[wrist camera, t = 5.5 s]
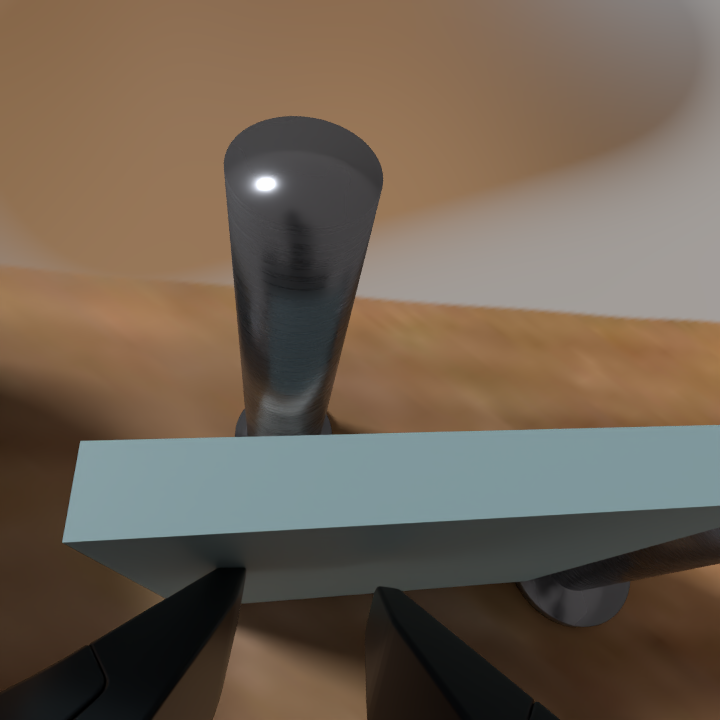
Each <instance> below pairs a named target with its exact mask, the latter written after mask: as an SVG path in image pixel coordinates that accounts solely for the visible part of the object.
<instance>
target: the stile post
mask: <svg viewBox="0 0 720 720" xmlns="http://www.w3.org/2000/svg"><path fill="white" fill-rule="evenodd" d="M224 174H225V186H226V197H227V207H228V219H229V231H230V241H231V253H232V265H233V276H234V288H235V299H236V311H237V322H238V333H239V345H240V356H241V368H242V379H243V390H244V402H245V409H244V410H243V412H242V413H241V415H240V417H239V419H238V422H237V425H236V431H235V437H261V436H301V435H332V431H331V425H330V421H329V419H328V416H327V415H326V412H327V408H328V404H329V400H330V396H331V392H332V388H333V384H334V380H335V376H336V372H337V368H338V364H339V359H340V355H341V351H342V347H343V343H344V339H345V335H346V331H347V327H348V323H349V319H350V315H351V311H352V307H353V303H354V299H355V295H356V291H357V287H358V283H359V279H360V275H361V271H362V267H363V263H364V259H365V255H366V251H367V247H368V243H369V239H370V235H371V231H372V227H373V223H374V219H375V214H376V210H377V206H378V202H379V198H380V194H381V190H382V185H383V173H382V168H381V165H380V163H379V161H378V159H377V157H376V155H375V154H374V152H373V151H372V150H371V148H370V147H369V146H368V145H367V144H366V143H365V142H364V141H363V140H362V139H360V138H359V137H358V136H356V135H355V134H354V133H352V132H350V131H348V130H347V129H345V128H343V127H341V126H338V125H336V124H333V123H331V122H328V121H324V120H321V119H316V118H310V117H301V116H299V117H298V116H287V117H278V118H272V119H268V120H264V121H261V122H258V123H256V124H254V125H252V126H250V127H248V128H247V129H245V130H243V131H242V132H241V133H240V134H239V135H237V136H236V137H235V139H234V140H233V141H232V142H231V144H230V145H229V147H228V149H227V152H226V154H225V159H224Z"/></svg>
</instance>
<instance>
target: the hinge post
mask: <svg viewBox="0 0 720 720" xmlns="http://www.w3.org/2000/svg"><path fill="white" fill-rule="evenodd" d="M715 564H720V527H719V528H715V529H712V530H708V531H705V532H701V533H697V534H694V535H690V536H687V537H683V538H679V539H676V540H672V541H669V542H665V543H661V544H658V545H654V546H651V547H647V548H643V549H640V550H636V551H633V552H629V553H625V554H622V555H618V556H615V557H611V558H607V559H604V560H600V561H597V562H593V563H589V564H586V565H582V566H578V567H575V568H571V569H568V570H564V571H560V572H557V573H553V574H550V575H546V576H542V577H539V578H535V579H532V580H528V581H521V582H516V584H517V586H518V588H519V590H520V591H521V593H522V594H523V596H524V597H525V598H526V599H527V601H528V602H529V603H530V604H531V605H532V606H533V607H534V608H535V609H536V610H537V611H538V612H540V613H541V614H542V615H544V616H545V617H547V618H549V619H550V620H552V621H554V622H557V623H559V624H562V625H566V626H571V627H588V626H595V625H599V624H601V623H604V622H606V621H608V620H609V619H611V618H612V617H613V616H614V615H616V614H617V613H618V611H619V610H620V609H621V608H622V606H623V604H624V602H625V600H626V598H627V595H628V591H629V587H630V581H634V580H639V579H644V578H649V577H654V576H659V575H664V574H669V573H674V572H679V571H684V570H690V569H695V568H700V567H705V566H710V565H715Z"/></svg>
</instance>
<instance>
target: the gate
mask: <svg viewBox="0 0 720 720" xmlns="http://www.w3.org/2000/svg"><path fill="white" fill-rule="evenodd" d="M719 527H720V425H703V426H663V427H623V428H583V429H542V430H502V431H462V432H422V433H381V434H341V435H301V436H261V437H220V438H180V439H140V440H99V441H80V446H79V451H78V457H77V462H76V468H75V474H74V479H73V485H72V490H71V496H70V502H69V507H68V513H67V518H66V524H65V529H64V535H63V541H62V543H64V544H66V545H68V546H69V547H71V548H73V549H75V550H77V551H79V552H81V553H82V554H84V555H86V556H88V557H90V558H92V559H94V560H95V561H97V562H99V563H101V564H103V565H105V566H106V567H108V568H110V569H112V570H114V571H116V572H118V573H119V574H121V575H123V576H125V577H127V578H129V579H131V580H132V581H134V582H136V583H138V584H140V585H142V586H143V587H145V588H147V589H149V590H151V591H153V592H155V593H156V594H158V595H160V596H162V597H164V598H168V597H170V596H171V595H173V594H175V593H176V592H178V591H180V590H181V589H183V588H185V587H186V586H188V585H190V584H191V583H193V582H195V581H196V580H198V579H200V578H201V577H203V576H205V575H206V574H208V573H210V572H211V571H213V570H215V569H216V568H246V570H247V572H246V579H245V585H244V590H243V596H242V602H241V604H244V603H257V602H269V601H282V600H295V599H307V598H320V597H332V596H345V595H358V594H370V593H374V592H375V590H376V588H377V587H379V586H384V587H391V588H397V589H399V590H401V591H408V590H420V589H433V588H446V587H458V586H471V585H483V584H496V583H508V582H521V581H528V580H532V579H535V578H539V577H542V576H546V575H550V574H553V573H557V572H560V571H564V570H568V569H571V568H575V567H578V566H582V565H586V564H589V563H593V562H597V561H600V560H604V559H607V558H611V557H615V556H618V555H622V554H625V553H629V552H633V551H636V550H640V549H643V548H647V547H651V546H654V545H658V544H661V543H665V542H669V541H672V540H676V539H679V538H683V537H687V536H690V535H694V534H697V533H701V532H705V531H708V530H712V529H715V528H719Z"/></svg>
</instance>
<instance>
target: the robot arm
mask: <svg viewBox="0 0 720 720" xmlns="http://www.w3.org/2000/svg"><path fill="white" fill-rule="evenodd" d="M246 572H247V570H246V568H216V569H215V570H213V571H211V572H210V573H208V574H206V575H205V576H203V577H201V578H200V579H198V580H196V581H195V582H193V583H191V584H190V585H188V586H186V587H185V588H183V589H181V590H180V591H178V592H176V593H175V594H173V595H171V596H170V597H168V598H166V599H165V600H163V601H161V602H159V603H158V604H156V605H154V606H153V607H151V608H149V609H148V610H146V611H144V612H143V613H141V614H139V615H138V616H136V617H134V618H133V619H131V620H129V621H128V622H126V623H124V624H123V625H121V626H119V627H118V628H116V629H114V630H113V631H111V632H109V633H108V634H106V635H104V636H103V637H101V638H99V639H97V640H96V641H94V642H92V643H91V644H90V645H89V646H84V647H82V648H81V649H79V650H77V651H76V652H74V653H72V654H71V655H69V656H67V657H66V658H64V659H62V660H60V661H58V662H57V663H55V664H53V665H51V666H49V667H48V668H46V669H44V670H42V671H41V672H39V673H37V674H35V675H33V676H32V677H30V678H28V679H26V680H24V681H22V682H20V683H18V684H16V685H14V686H12V687H10V688H8V689H6V690H4V691H2V692H0V720H212V719H213V717H214V714H215V711H216V708H217V705H218V702H219V699H220V695H221V692H222V688H223V684H224V679H225V675H226V671H227V666H228V662H229V657H230V653H231V649H232V644H233V640H234V636H235V631H236V627H237V622H238V618H239V613H240V607H241V602H242V596H243V590H244V585H245V579H246ZM365 668H366V704H367V720H560V719H559V718H557V717H556V716H555V715H554V714H552V713H551V712H550V711H549V710H548V709H546V708H545V707H544V706H543V705H541V704H540V703H539V702H534V700H533V698H532V697H530V696H529V695H528V694H527V693H525V692H524V691H523V690H522V689H521V688H519V687H518V686H517V685H516V684H514V683H513V682H512V681H511V680H509V679H508V678H507V677H506V676H505V675H503V674H502V673H501V672H500V671H498V670H497V669H496V668H495V667H494V666H492V665H491V664H490V663H489V662H487V661H486V660H485V659H484V658H483V657H481V656H480V655H479V654H478V653H476V652H475V651H474V650H473V649H472V648H470V647H469V646H468V645H467V644H465V643H464V642H463V641H462V640H461V639H459V638H458V637H457V636H456V635H454V634H453V633H452V632H451V631H450V630H448V629H447V628H446V627H445V626H443V625H442V624H441V623H440V622H438V621H437V620H436V619H435V618H434V617H432V616H431V615H430V614H429V613H427V612H426V611H425V610H424V609H423V608H421V607H420V606H419V605H418V604H416V603H415V602H414V601H413V600H412V599H410V598H409V597H408V596H407V595H405V594H404V593H403V592H402V591H401V590H399V589H397V588H391V587H384V586H379V587H377V588H376V590H375V592H374V596H373V600H372V604H371V608H370V612H369V616H368V620H367V625H366V631H365Z"/></svg>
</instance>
